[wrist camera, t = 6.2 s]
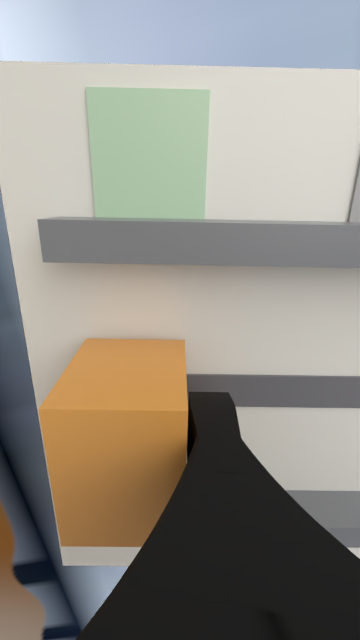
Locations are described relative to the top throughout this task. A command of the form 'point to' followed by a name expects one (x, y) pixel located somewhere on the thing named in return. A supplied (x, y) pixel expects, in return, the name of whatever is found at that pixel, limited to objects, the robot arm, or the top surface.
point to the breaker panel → (199, 247)
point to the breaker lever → (116, 439)
